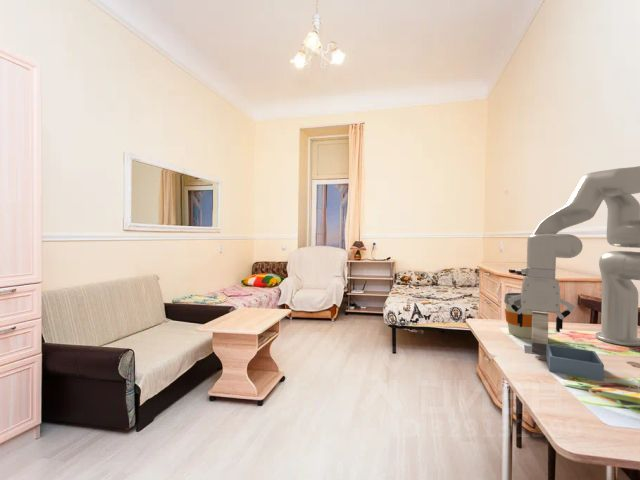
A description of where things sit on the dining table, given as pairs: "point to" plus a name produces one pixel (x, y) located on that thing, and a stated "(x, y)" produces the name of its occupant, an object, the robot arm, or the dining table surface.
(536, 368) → the dining table surface
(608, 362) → the dining table surface
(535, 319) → the strut
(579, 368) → the bin
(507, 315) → the reusable coffee cup
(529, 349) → the stud plate
